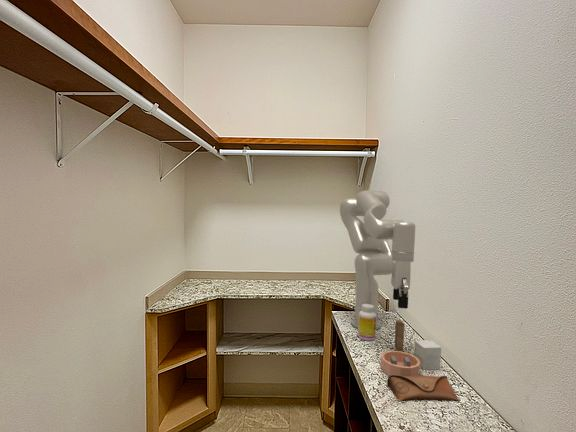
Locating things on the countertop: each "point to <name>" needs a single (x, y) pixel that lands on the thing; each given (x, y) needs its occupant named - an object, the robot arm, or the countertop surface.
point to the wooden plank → (399, 335)
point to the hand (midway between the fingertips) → (399, 303)
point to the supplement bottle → (367, 323)
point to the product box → (427, 354)
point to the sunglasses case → (421, 388)
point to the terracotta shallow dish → (400, 363)
